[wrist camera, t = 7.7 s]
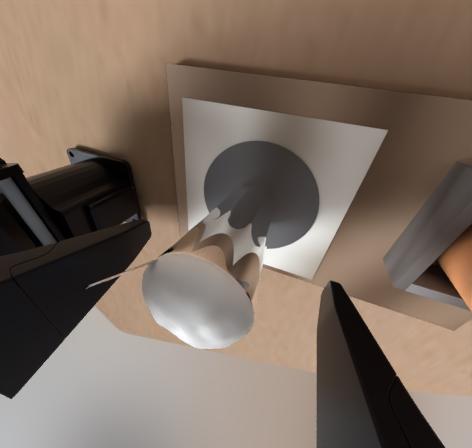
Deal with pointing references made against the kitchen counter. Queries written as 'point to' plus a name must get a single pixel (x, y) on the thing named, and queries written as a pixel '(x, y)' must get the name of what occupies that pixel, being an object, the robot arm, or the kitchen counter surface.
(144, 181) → the kitchen counter surface
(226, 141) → the board
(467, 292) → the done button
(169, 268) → the milkshake
